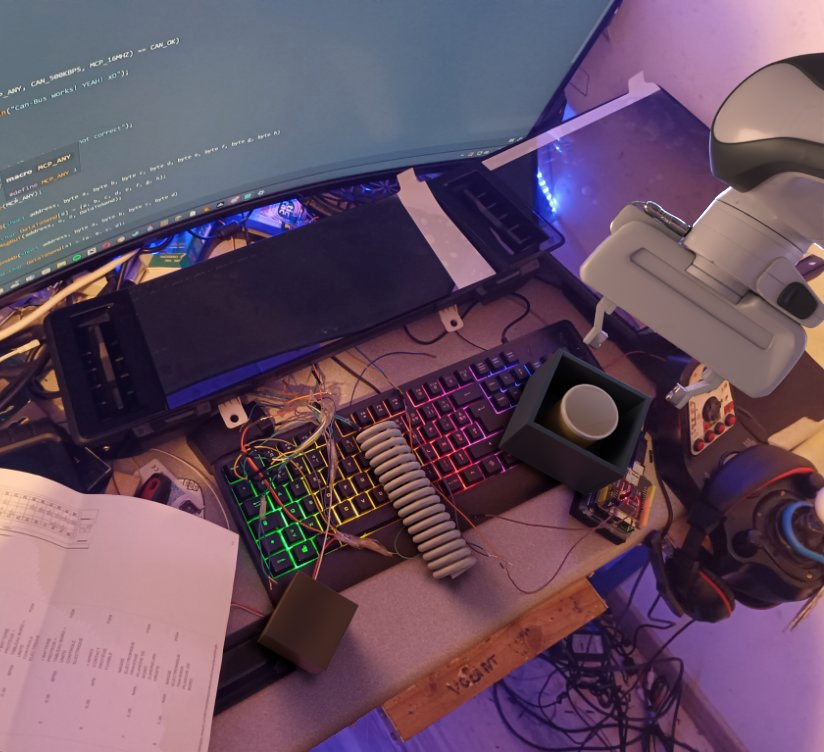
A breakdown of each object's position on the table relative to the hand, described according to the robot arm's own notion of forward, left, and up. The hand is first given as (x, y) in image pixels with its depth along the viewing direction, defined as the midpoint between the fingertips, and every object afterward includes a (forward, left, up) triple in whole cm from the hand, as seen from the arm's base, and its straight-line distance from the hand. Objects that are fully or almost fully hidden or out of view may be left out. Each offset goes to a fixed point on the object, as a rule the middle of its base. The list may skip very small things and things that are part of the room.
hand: (630, 374), depth 70 cm
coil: (+12, +17, -16) cm, 26 cm away
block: (+16, +34, -16) cm, 41 cm away
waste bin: (0, +1, -16) cm, 16 cm away
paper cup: (0, +1, -15) cm, 15 cm away
